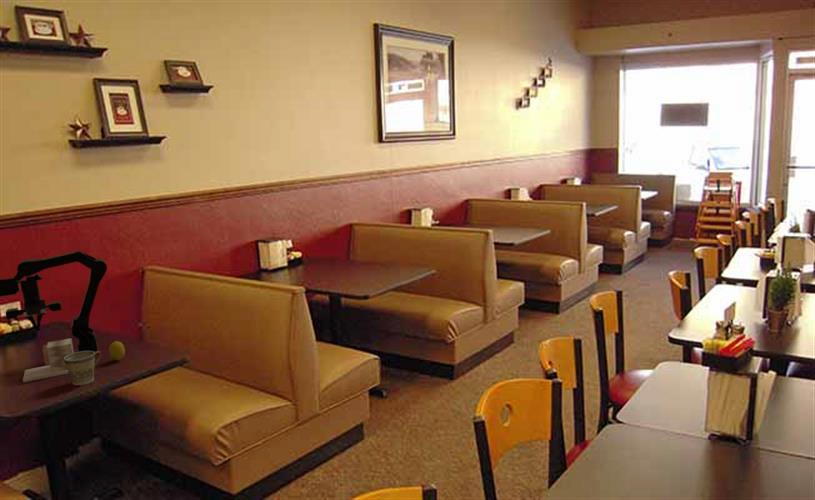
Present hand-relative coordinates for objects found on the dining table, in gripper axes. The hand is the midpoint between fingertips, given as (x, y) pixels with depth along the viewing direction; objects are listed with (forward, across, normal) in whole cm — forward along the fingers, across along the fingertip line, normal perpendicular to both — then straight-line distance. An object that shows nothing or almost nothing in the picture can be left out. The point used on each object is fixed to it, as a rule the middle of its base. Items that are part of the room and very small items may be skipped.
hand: (38, 330), depth 255 cm
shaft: (+9, +6, -15) cm, 19 cm away
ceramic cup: (+13, +14, -35) cm, 40 cm away
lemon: (+13, +26, -18) cm, 34 cm away
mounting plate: (+13, +3, -15) cm, 20 cm away
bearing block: (+13, +7, -15) cm, 21 cm away
